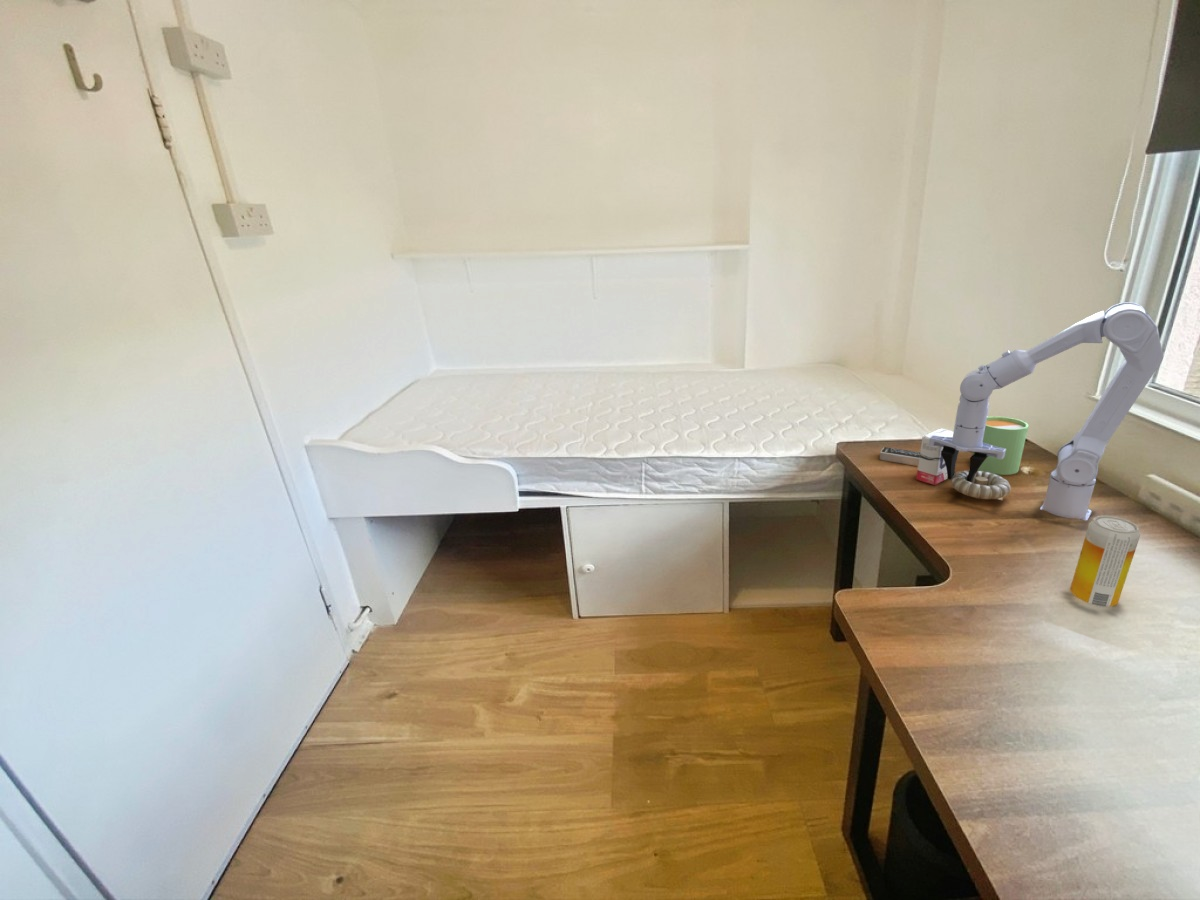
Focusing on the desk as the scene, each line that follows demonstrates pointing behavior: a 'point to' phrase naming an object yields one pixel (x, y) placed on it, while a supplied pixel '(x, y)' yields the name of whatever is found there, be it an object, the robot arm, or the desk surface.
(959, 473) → the ring
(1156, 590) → the desk surface
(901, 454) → the multiport hub
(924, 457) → the ink box
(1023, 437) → the mug
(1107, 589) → the orange pill bottle
